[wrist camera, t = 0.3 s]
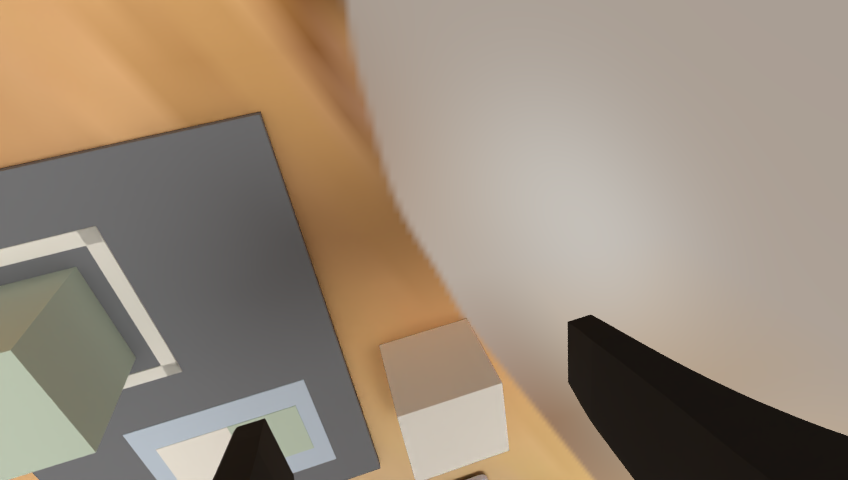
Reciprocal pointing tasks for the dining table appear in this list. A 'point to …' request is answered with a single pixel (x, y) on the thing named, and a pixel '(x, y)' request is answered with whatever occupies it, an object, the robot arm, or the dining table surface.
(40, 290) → the base block
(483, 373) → the top block
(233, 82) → the dining table surface
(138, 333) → the mat
